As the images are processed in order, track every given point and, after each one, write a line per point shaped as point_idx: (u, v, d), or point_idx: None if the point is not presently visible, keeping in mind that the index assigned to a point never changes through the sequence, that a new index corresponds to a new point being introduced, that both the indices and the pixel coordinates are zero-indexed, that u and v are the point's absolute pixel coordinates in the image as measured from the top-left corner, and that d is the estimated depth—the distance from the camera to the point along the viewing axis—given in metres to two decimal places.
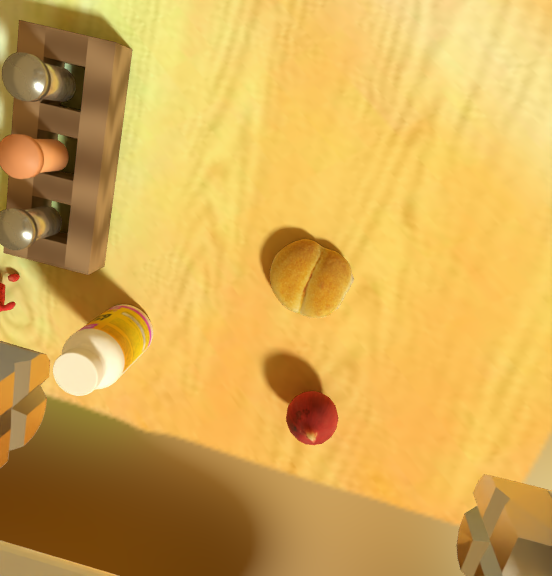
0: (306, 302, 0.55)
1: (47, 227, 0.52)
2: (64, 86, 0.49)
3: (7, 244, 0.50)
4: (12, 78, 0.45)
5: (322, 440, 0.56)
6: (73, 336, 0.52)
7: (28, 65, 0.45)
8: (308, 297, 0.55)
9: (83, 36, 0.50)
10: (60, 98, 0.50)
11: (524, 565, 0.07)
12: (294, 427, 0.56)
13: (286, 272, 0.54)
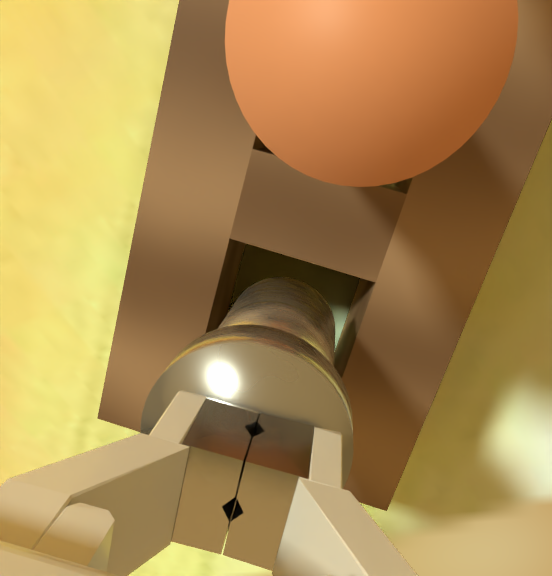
0: None
1: None
2: None
3: None
4: None
5: None
6: None
7: None
8: None
9: None
10: (251, 296, 0.14)
11: (255, 489, 0.08)
12: None
13: None
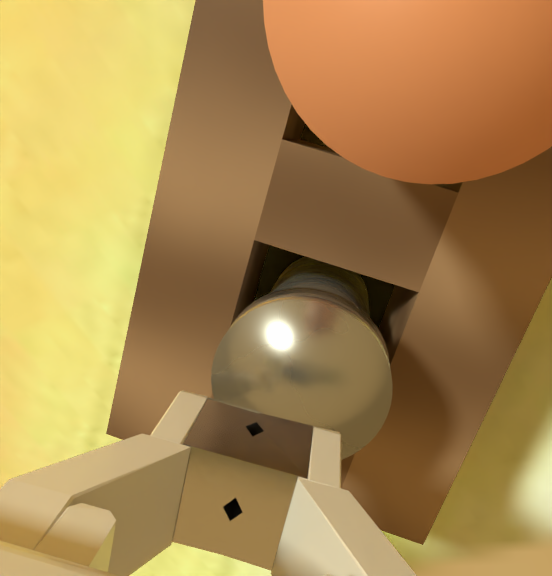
0: None
1: None
2: None
3: None
4: (347, 388, 0.11)
5: None
6: None
7: None
8: None
9: None
10: (296, 269, 0.15)
11: (254, 489, 0.08)
12: None
13: None
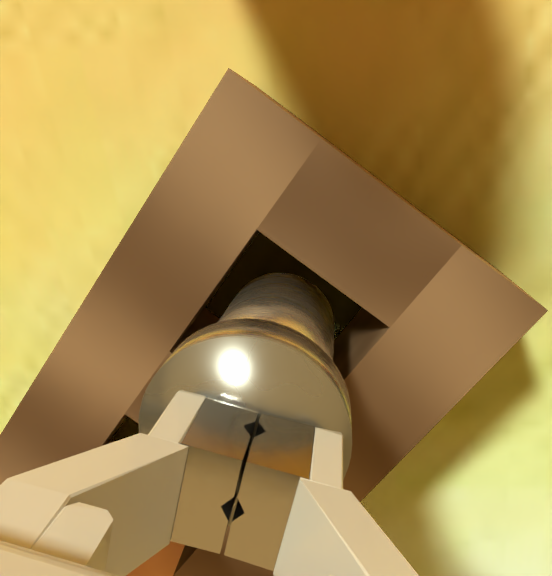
0: None
1: None
2: None
3: (312, 391, 0.09)
4: None
5: None
6: None
7: None
8: None
9: None
10: None
11: (256, 490, 0.08)
12: None
13: None
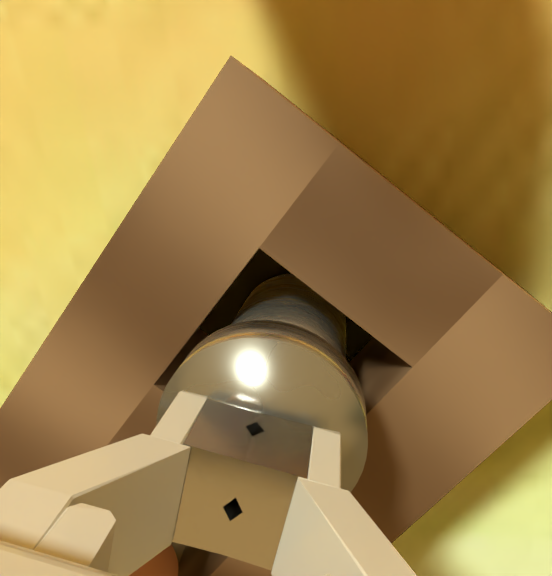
0: None
1: None
2: None
3: (330, 394, 0.09)
4: None
5: None
6: None
7: None
8: None
9: None
10: None
11: (254, 489, 0.08)
12: None
13: None
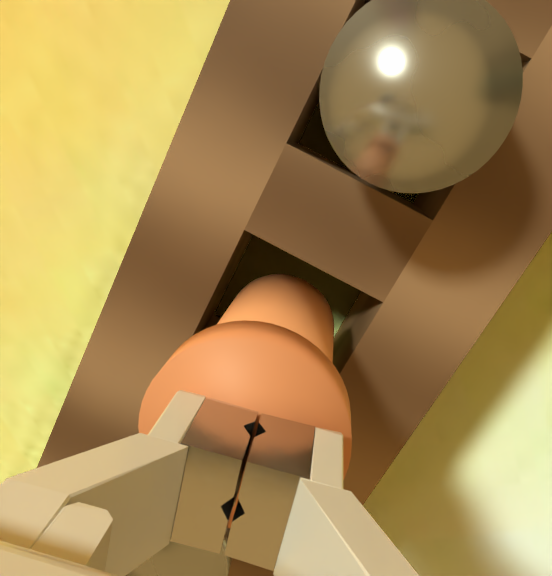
0: None
1: None
2: None
3: (481, 24, 0.10)
4: (193, 573, 0.14)
5: None
6: None
7: None
8: None
9: None
10: None
11: (256, 489, 0.08)
12: None
13: None
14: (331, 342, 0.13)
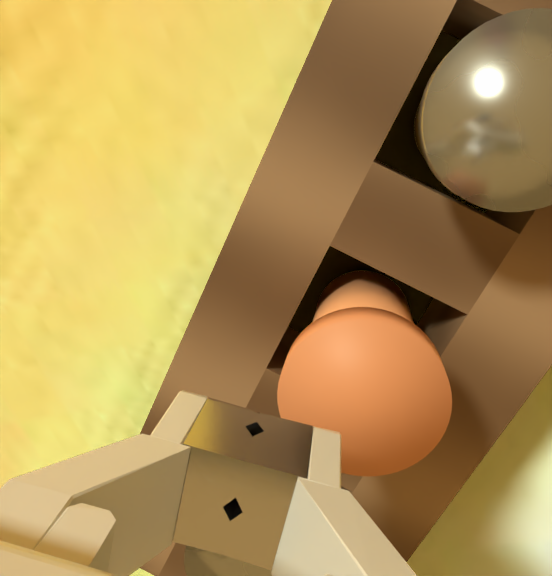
0: None
1: None
2: None
3: None
4: None
5: None
6: None
7: None
8: None
9: None
10: None
11: (254, 489, 0.08)
12: None
13: None
14: None
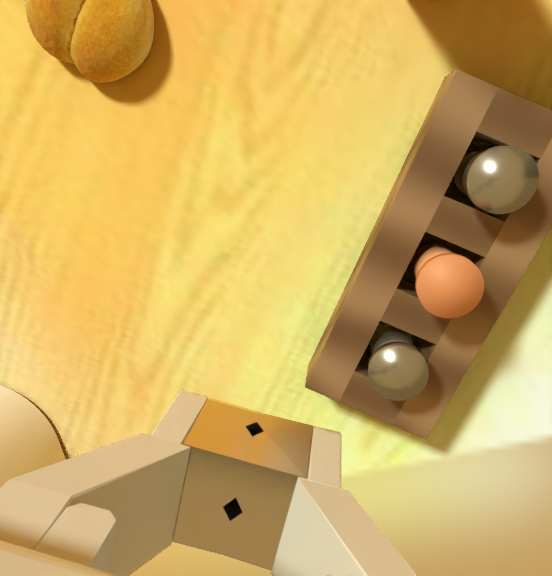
0: None
1: (465, 167, 0.34)
2: (373, 342, 0.39)
3: (523, 157, 0.30)
4: (414, 375, 0.35)
5: None
6: None
7: (386, 384, 0.35)
8: None
9: (345, 403, 0.39)
10: (387, 328, 0.39)
11: (254, 489, 0.08)
12: None
13: (109, 31, 0.34)
14: None
